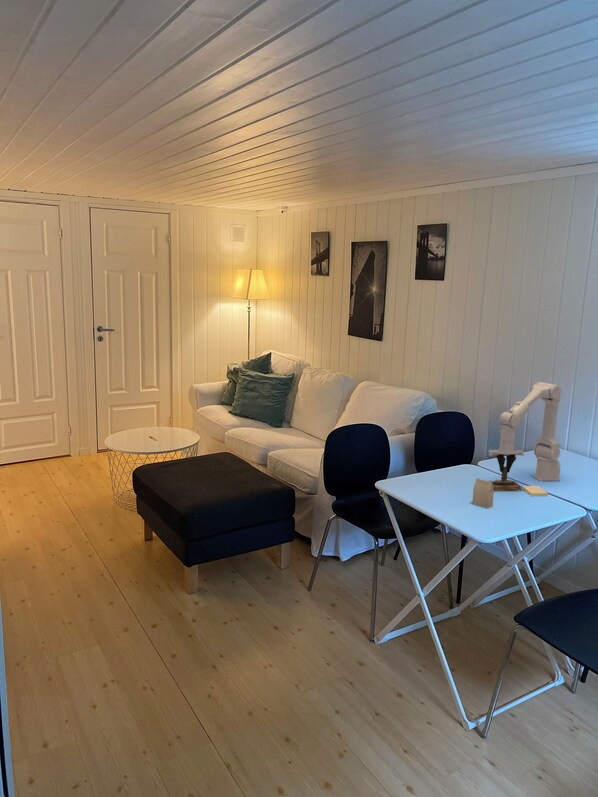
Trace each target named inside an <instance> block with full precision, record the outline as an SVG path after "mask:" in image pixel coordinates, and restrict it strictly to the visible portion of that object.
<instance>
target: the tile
mask: <svg viewBox="0 0 598 797" xmlns="http://www.w3.org/2000/svg"><path fill="white" fill-rule="evenodd" d="M522 489H523V490H524V491H523V490H522ZM521 490H522V491H523V492H525V491H526V492H527V493H528V494H527V493H526V492H525V493H526V494H527V495H528V496H530V495H531V496H530V497H549V496H548V494H549V493H548V492H547V491H545V489H543V488H541V486H539V485H521Z"/></svg>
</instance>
